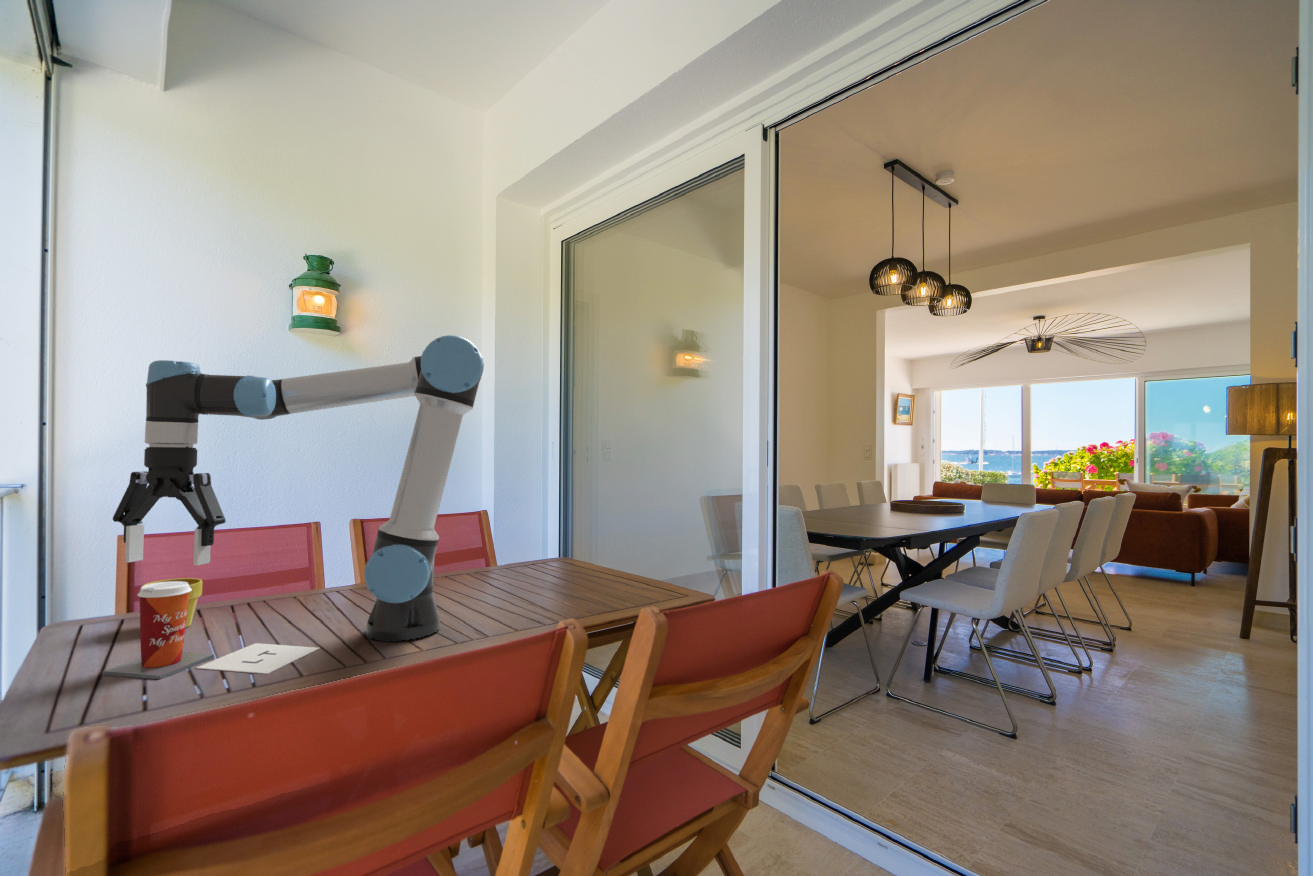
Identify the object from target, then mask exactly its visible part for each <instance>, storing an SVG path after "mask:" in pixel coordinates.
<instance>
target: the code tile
mask: <svg viewBox="0 0 1313 876" xmlns="http://www.w3.org/2000/svg"><path fill="white" fill-rule="evenodd" d="M319 649H321V647H313V646H312V647H311V646H301V645H285V644H274V643H273V644H271V643H270V644H269V643H258V642H255V643H253V644H250V645H248V646H246V647H243V648H241V649H238V650H236V651H233V652H231V653H229V654H226V655H223V656H221V657H219V658H216V659H214V660H212V661H209V662H207V663H204V664H202V665H199V666H196V667H195V669H197V670H198V669H199V670H209V671H210V670H211V671H221V672H223V671H224V672H236V673H247V674H248V673H249V674H263V675H269V674H271V673H273V672H275V671H277V670H279V669H281V668H283V667H285V666H287V665H290V664H291V663H294V662H296V661H298V660H300V659H301V658H304V657H305V656H308V655H310V654H311V653H315V652H316V651H318V650H319Z"/></svg>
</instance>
